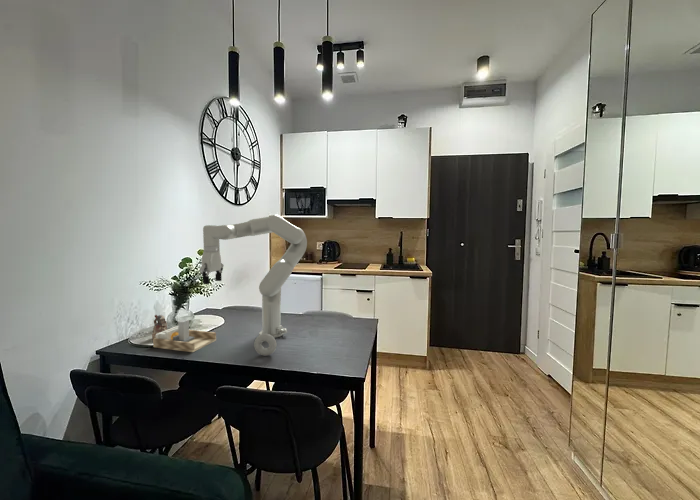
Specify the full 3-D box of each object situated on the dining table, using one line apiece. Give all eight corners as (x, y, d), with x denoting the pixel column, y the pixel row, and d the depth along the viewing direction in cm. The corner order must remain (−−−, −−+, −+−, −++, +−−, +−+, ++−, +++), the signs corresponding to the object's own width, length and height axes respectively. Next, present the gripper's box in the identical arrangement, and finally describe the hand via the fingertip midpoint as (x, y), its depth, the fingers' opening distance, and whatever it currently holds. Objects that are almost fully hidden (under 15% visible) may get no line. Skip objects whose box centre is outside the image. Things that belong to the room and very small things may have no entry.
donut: (253, 356, 142) (252, 334, 141) (255, 353, 145) (255, 332, 144) (275, 357, 141) (275, 335, 140) (277, 354, 145) (277, 332, 144)
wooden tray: (216, 340, 161) (215, 332, 161) (193, 352, 146) (192, 343, 145) (179, 336, 166) (179, 328, 166) (153, 347, 151) (153, 338, 151)
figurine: (161, 341, 159) (160, 317, 158) (148, 339, 161) (148, 316, 160) (171, 336, 166) (171, 313, 165) (159, 335, 168) (159, 312, 167)
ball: (177, 329, 159) (174, 336, 160) (170, 332, 155) (167, 338, 156) (183, 334, 158) (180, 340, 159) (177, 336, 155) (173, 343, 155)
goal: (187, 336, 164) (187, 324, 164) (165, 345, 150) (165, 333, 150) (178, 334, 165) (178, 323, 165) (156, 344, 152) (155, 332, 151)
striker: (194, 338, 159) (193, 319, 159) (182, 344, 152) (181, 323, 151) (185, 337, 161) (184, 318, 160) (172, 343, 153) (172, 322, 152)
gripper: (216, 248, 174) (217, 279, 175) (193, 250, 157) (194, 285, 159) (228, 248, 172) (229, 280, 174) (206, 250, 156) (207, 285, 157)
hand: (212, 282), depth 166 cm, fingers open, 9 cm apart
